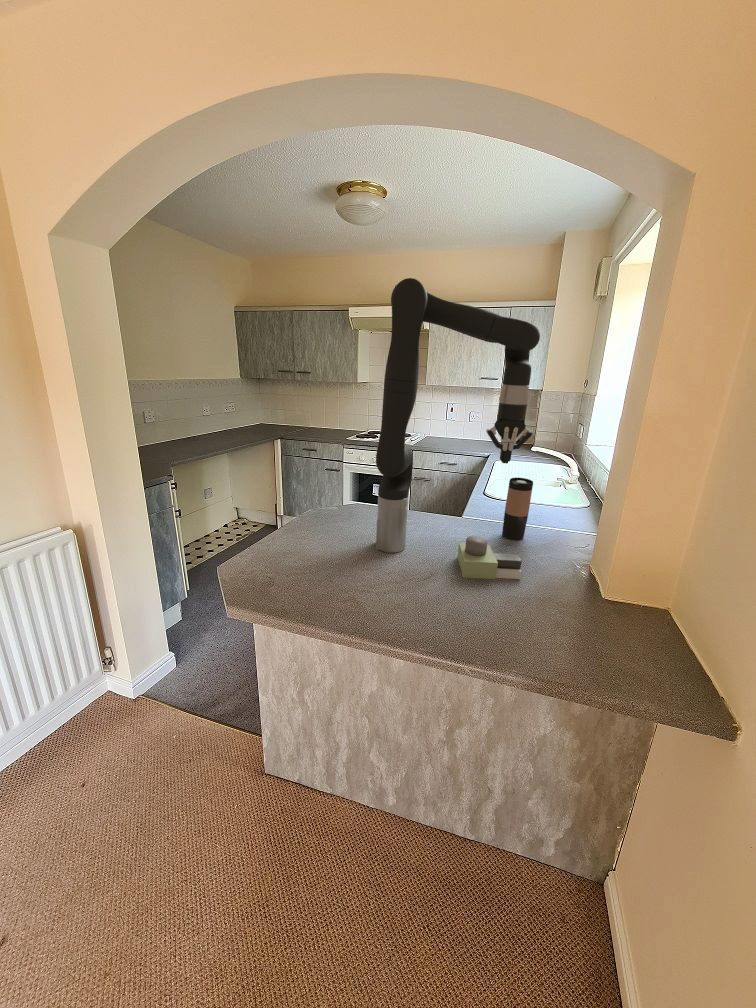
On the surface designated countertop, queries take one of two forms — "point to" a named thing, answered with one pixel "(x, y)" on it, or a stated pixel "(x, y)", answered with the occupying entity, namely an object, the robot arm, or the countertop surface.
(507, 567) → the dark grey box
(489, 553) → the two-prong plug
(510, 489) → the travel mug
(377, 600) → the countertop surface
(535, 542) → the countertop surface
